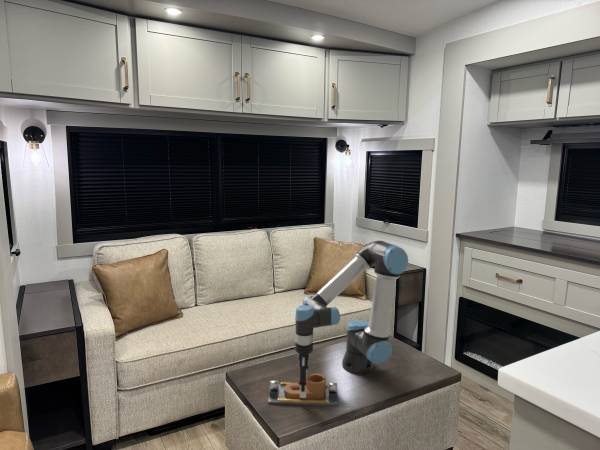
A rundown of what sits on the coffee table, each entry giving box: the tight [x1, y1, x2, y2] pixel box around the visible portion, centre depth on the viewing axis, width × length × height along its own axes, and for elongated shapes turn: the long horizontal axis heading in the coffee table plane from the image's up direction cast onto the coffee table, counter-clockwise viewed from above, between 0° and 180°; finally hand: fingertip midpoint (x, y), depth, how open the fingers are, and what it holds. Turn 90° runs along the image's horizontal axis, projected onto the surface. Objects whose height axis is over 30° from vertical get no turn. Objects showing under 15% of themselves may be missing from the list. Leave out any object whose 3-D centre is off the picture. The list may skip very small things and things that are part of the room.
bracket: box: [284, 373, 327, 399], centre depth 176 cm, size 18×8×7 cm, turn 94°
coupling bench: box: [267, 380, 338, 407], centre depth 176 cm, size 29×13×6 cm, turn 87°
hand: (303, 390), depth 177 cm, fingers open, 10 cm apart
